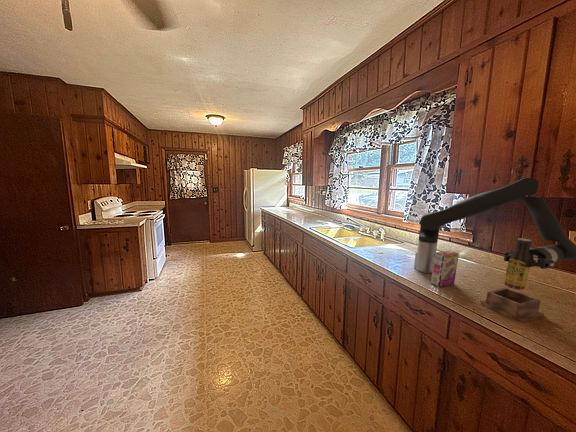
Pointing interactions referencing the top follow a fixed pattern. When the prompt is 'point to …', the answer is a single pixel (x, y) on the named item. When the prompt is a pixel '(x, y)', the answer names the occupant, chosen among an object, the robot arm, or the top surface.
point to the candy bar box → (444, 268)
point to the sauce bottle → (518, 265)
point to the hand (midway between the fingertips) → (516, 261)
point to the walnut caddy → (513, 304)
